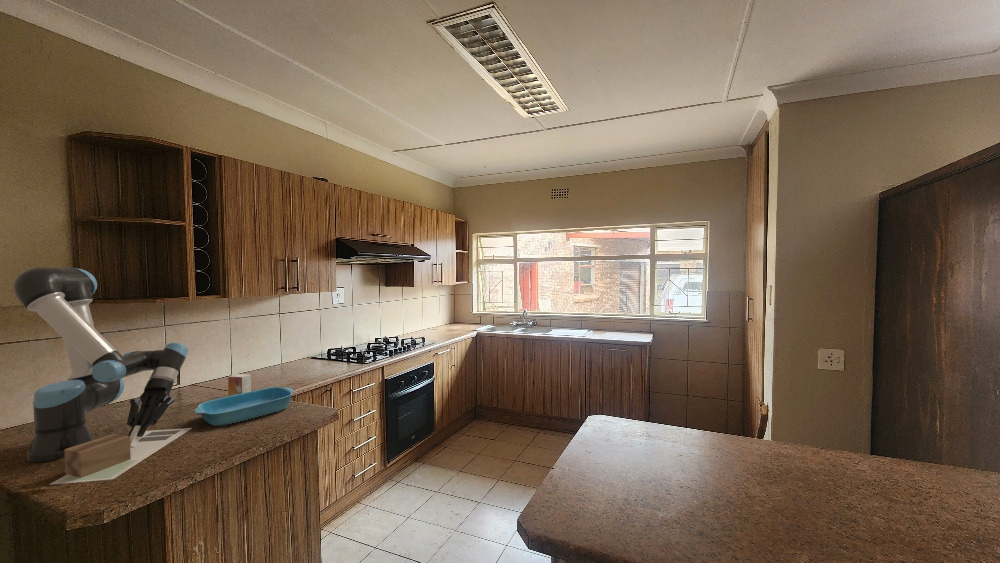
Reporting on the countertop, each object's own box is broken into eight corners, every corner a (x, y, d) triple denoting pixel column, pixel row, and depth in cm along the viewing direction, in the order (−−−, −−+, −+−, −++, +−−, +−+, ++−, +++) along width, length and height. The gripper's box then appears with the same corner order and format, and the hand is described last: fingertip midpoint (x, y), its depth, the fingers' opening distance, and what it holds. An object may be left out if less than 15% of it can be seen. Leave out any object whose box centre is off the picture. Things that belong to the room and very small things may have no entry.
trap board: (48, 486, 110) (48, 484, 110) (146, 432, 148) (146, 430, 148) (113, 481, 113) (112, 479, 113) (192, 429, 151) (192, 427, 150)
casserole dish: (202, 434, 146) (202, 416, 146) (188, 420, 160) (187, 403, 160) (302, 408, 174) (302, 392, 174) (282, 398, 189) (282, 383, 189)
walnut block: (65, 473, 116) (64, 449, 116) (115, 455, 128) (114, 433, 127) (81, 477, 114) (80, 453, 114) (130, 459, 125) (130, 436, 125)
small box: (228, 397, 189) (227, 376, 189) (237, 393, 195) (237, 373, 195) (242, 398, 188) (241, 377, 188) (251, 394, 194) (251, 374, 193)
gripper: (186, 385, 147) (158, 448, 131) (146, 387, 144) (114, 452, 129) (176, 375, 141) (146, 440, 126) (135, 378, 139) (100, 444, 123)
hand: (130, 446), depth 127 cm, fingers closed
